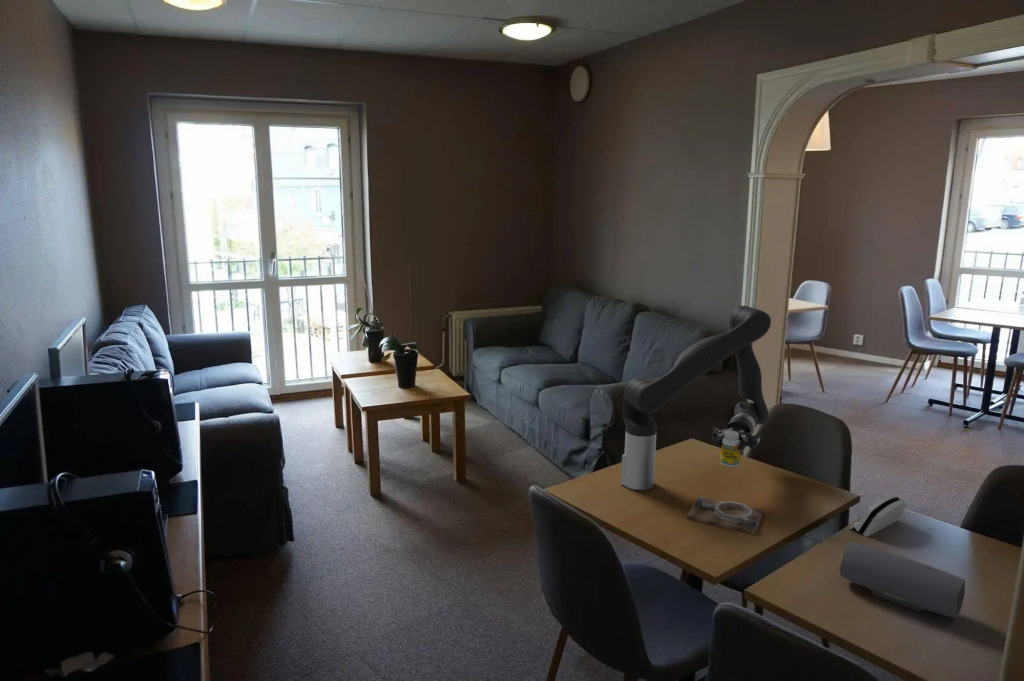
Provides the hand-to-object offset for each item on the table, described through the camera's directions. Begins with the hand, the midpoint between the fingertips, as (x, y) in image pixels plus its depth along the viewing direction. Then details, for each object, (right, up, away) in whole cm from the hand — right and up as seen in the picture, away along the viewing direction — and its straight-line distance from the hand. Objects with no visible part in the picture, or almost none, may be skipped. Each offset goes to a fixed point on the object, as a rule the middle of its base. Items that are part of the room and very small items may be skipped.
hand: (729, 445), depth 194 cm
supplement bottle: (+1, -6, +4) cm, 7 cm away
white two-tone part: (+37, -21, -10) cm, 44 cm away
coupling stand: (-2, -19, -4) cm, 20 cm away
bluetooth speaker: (+24, -28, -43) cm, 56 cm away
